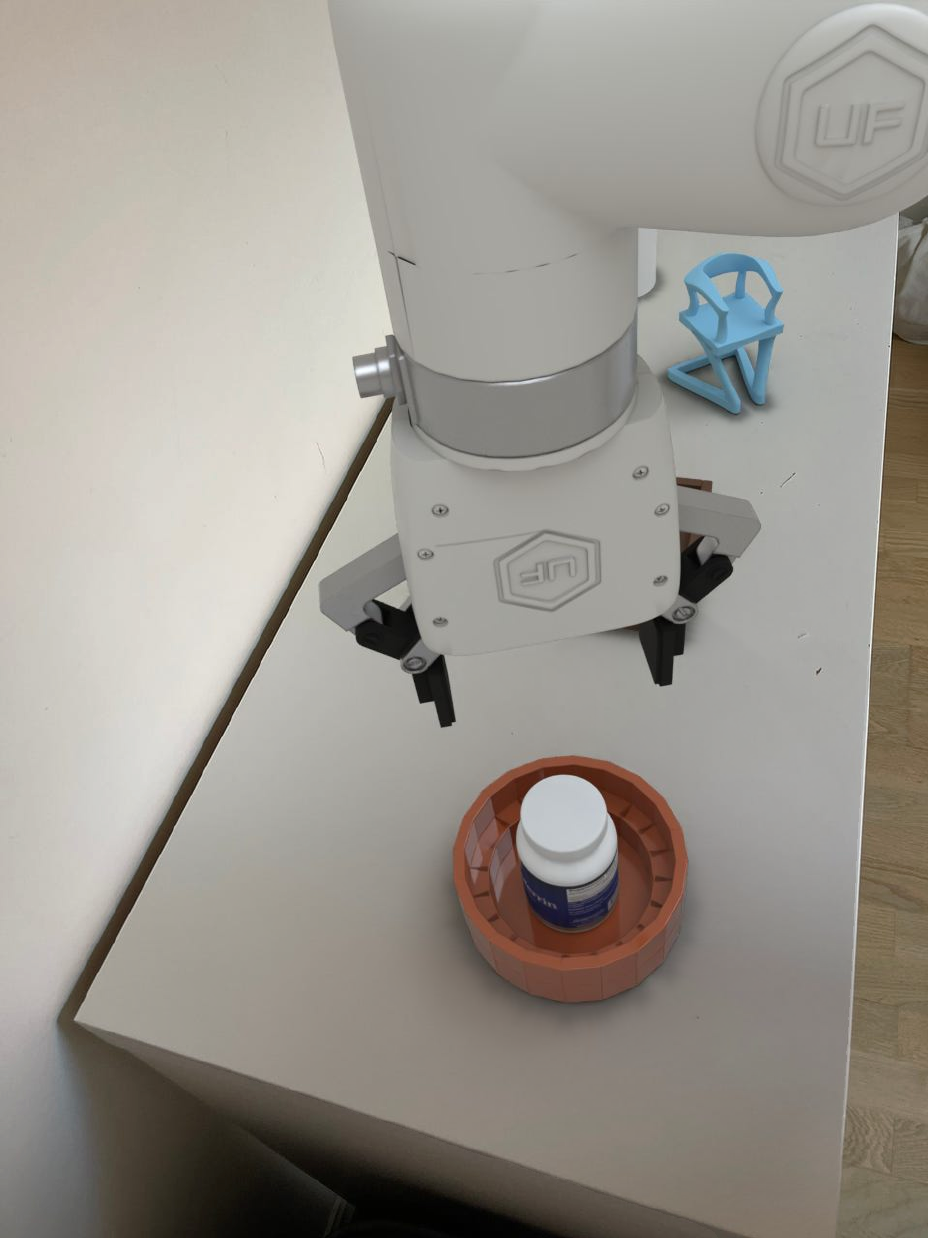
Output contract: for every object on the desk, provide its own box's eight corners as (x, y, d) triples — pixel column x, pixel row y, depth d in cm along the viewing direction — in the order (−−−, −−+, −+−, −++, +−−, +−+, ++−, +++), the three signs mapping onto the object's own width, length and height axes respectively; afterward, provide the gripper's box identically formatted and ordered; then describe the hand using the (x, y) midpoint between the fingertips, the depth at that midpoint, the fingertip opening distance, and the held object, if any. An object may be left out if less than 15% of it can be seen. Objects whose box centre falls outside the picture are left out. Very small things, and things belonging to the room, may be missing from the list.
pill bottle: (509, 876, 62) (491, 795, 55) (586, 834, 63) (580, 748, 56) (556, 954, 59) (544, 878, 51) (637, 907, 60) (638, 826, 52)
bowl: (730, 905, 60) (737, 863, 56) (563, 1055, 55) (557, 1022, 51) (580, 765, 67) (576, 718, 63) (423, 887, 63) (408, 846, 59)
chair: (712, 423, 89) (721, 304, 79) (665, 375, 94) (668, 259, 85) (787, 395, 90) (804, 275, 81) (737, 349, 95) (748, 231, 86)
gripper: (252, 487, 29) (366, 788, 42) (828, 378, 29) (767, 713, 42) (253, 345, 34) (355, 653, 47) (746, 252, 34) (713, 586, 47)
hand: (549, 681), depth 45 cm, fingers open, 9 cm apart
